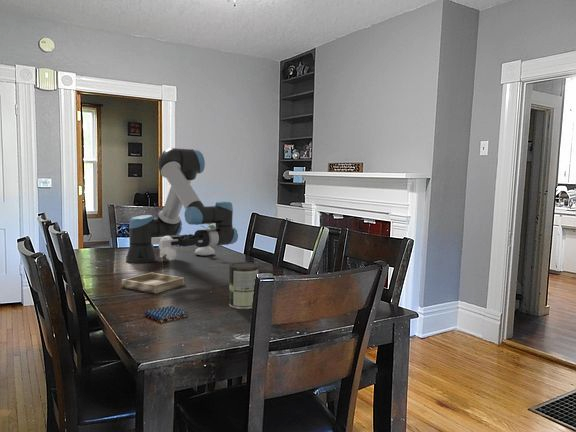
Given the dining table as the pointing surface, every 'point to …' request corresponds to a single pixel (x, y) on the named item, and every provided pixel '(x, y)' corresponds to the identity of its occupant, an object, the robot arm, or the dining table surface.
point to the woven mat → (166, 314)
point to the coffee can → (242, 284)
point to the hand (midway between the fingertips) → (157, 242)
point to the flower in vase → (205, 250)
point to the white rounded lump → (167, 249)
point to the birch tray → (153, 282)
